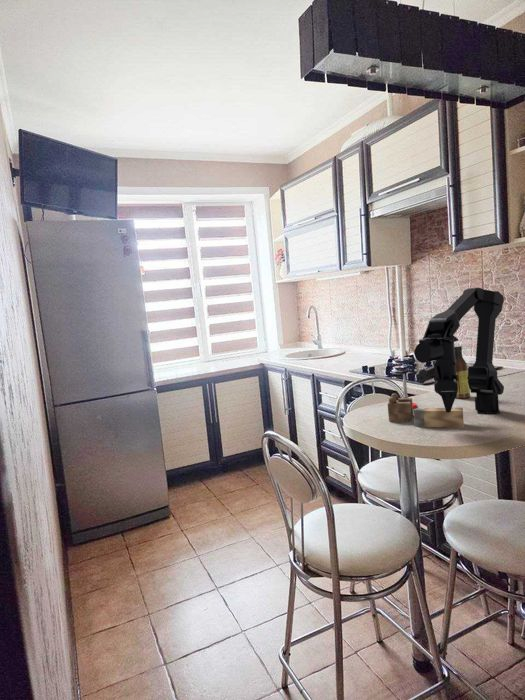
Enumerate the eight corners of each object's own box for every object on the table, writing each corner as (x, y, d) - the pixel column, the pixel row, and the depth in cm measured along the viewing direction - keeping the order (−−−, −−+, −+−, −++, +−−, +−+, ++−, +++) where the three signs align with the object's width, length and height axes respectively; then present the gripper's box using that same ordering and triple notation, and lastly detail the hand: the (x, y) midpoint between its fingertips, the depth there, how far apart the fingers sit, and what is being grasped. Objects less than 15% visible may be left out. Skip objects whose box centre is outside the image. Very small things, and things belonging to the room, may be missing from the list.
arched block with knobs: (413, 415, 149) (411, 392, 148) (411, 421, 141) (409, 397, 141) (392, 415, 151) (390, 392, 151) (389, 421, 144) (387, 397, 144)
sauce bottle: (471, 395, 168) (467, 344, 166) (469, 399, 162) (465, 346, 161) (453, 395, 171) (449, 345, 170) (450, 398, 166) (446, 347, 164)
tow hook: (391, 406, 166) (395, 410, 157) (388, 372, 166) (392, 375, 157) (414, 404, 165) (419, 409, 156) (411, 371, 165) (416, 373, 155)
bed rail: (463, 423, 133) (462, 407, 133) (463, 427, 129) (462, 410, 129) (415, 423, 139) (414, 407, 138) (414, 426, 135) (413, 411, 135)
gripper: (419, 355, 143) (422, 401, 144) (414, 363, 126) (418, 416, 127) (456, 353, 138) (459, 401, 140) (456, 361, 122) (459, 416, 123)
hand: (448, 408), depth 133 cm, fingers open, 9 cm apart
